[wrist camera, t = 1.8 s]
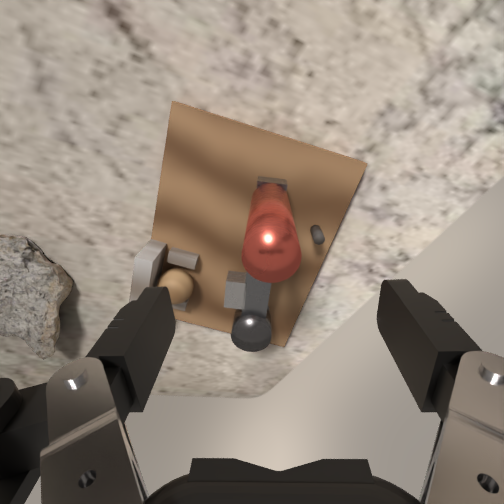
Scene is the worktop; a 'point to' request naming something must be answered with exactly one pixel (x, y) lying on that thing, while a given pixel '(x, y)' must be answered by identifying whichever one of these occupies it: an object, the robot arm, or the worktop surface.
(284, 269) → the lever
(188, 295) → the tan wooden ball
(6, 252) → the rock
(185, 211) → the base
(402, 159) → the worktop surface
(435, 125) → the worktop surface
